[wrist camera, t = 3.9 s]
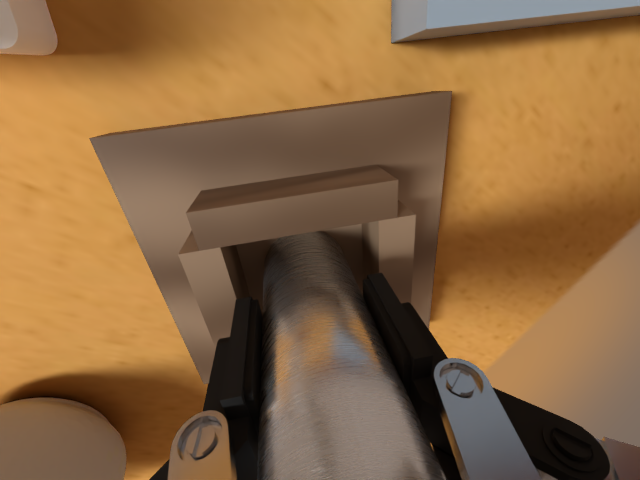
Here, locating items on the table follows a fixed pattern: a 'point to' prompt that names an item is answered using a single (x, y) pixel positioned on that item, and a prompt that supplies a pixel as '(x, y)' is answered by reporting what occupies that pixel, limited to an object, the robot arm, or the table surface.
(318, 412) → the pin
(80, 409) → the teacup
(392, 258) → the brown square socket base
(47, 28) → the cable organizer
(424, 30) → the tray
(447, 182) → the table surface
